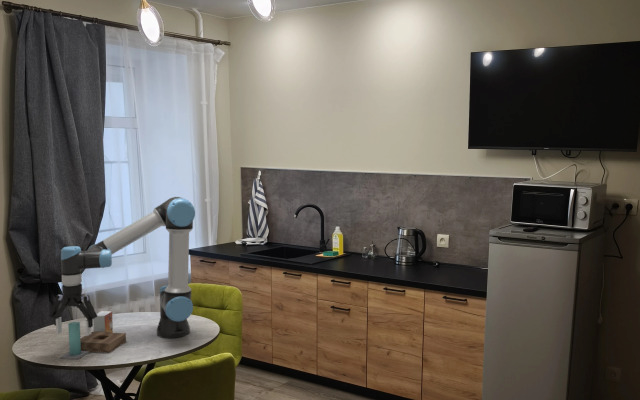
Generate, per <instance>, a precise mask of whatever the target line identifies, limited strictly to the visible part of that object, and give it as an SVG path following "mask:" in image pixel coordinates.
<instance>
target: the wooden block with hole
mask: <svg viewBox="0 0 640 400" xmlns="http://www.w3.org/2000/svg"><path fill="white" fill-rule="evenodd" d="M80 340H81V351H89V353H105V354H110V353H112V352H114V351H115V350H116V349H117V348H119V347H120V346H122V345H124V344H125V343H127V333H125V332H113V333H112V332H94V331H91V334H90V335H89V336H86V335H85V336H84V335H83V337H80Z"/></svg>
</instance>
